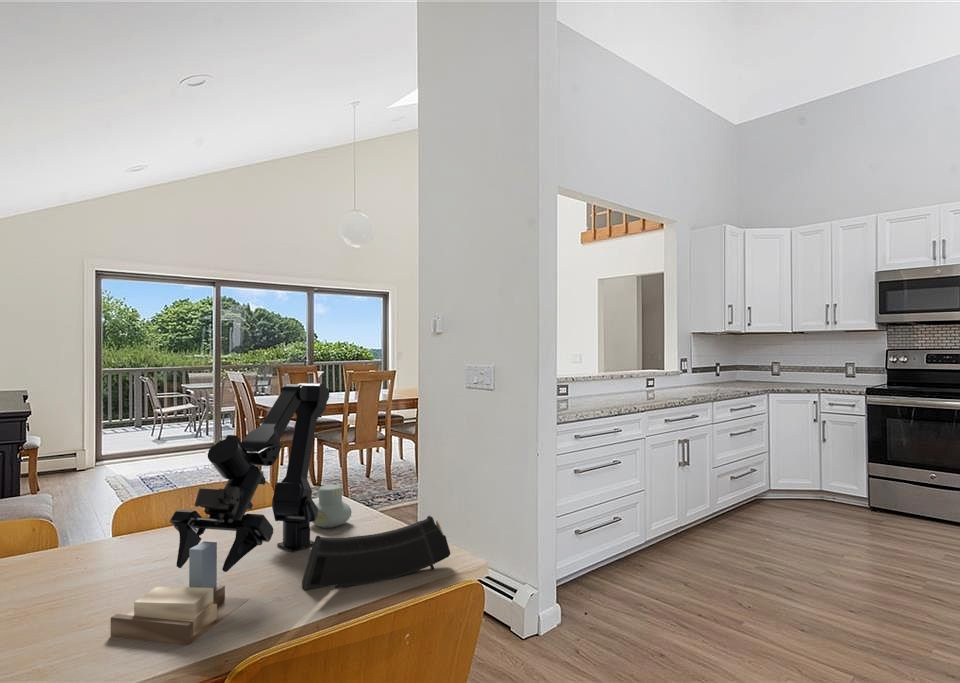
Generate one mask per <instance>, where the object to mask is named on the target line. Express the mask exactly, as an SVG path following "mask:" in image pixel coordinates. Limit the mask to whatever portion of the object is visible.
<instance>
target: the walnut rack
mask: <svg viewBox="0 0 960 683" xmlns="http://www.w3.org/2000/svg"><path fill="white" fill-rule="evenodd" d="M249 600H250V598H247V597H246V598H245V597H235V596H226V586H225V584H224V585H223V584H219V585H217V587H216V588H215V589H213V604H217V619H216V620H214V621H213V622H212V623H210V624H209V625H208V626H206V627H205V628H204V629H202V630H201V631H199V632H198V633H197V634H195V635H194V636H193V622H190V621H181V620H171V619H161V618H152V617H142V616H132V615H127V614H121V613H116V614H114V615H113V616H112V615H111V617H110V637H113V638H122V639H131V640H139V641H140V640H141V641H150V642H155V643H156V642H157V643H167V644H175V645H183V646H188V645H191V643H193V642H194V641H196V640H197V639H198V638H200V637H201V636H202V635H203V634H205V633H206V632H208V631H209V630H210V629H212V628H213V627H215V625H217V624H218V623H220V622H221V621H222V620H223V619H225V618H226V617H228V616H229V615H230V614H232V613H233V612H234V611H236V610H237V609H238V608H240V607H241V606H242V605H244V604H245V603H246V602H247V601H249Z"/></svg>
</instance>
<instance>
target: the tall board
mask: <svg viewBox="0 0 960 683" xmlns="http://www.w3.org/2000/svg"><path fill="white" fill-rule="evenodd" d="M217 555H218V542H217V541H216V542H215V541H206V540H205V541H203V542H199V544H198V545H196V546H194V547H192V548H190V549H189V558H188V560H189V563H188V564H189V565H188V567H189V569H188V570H189V571H188V575H189V576H188V583H189V584H188V587H195V588H213V589H215V588H216V587H218V583H217V580H218V579H217V578H218V574H217V573H218V572H217V571H218V567H217V566H218V565H217V564H218V562H217V561H218V560H217V559H218V556H217Z"/></svg>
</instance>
